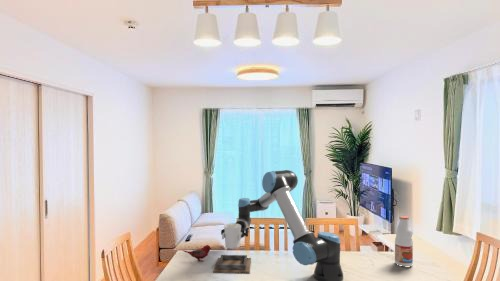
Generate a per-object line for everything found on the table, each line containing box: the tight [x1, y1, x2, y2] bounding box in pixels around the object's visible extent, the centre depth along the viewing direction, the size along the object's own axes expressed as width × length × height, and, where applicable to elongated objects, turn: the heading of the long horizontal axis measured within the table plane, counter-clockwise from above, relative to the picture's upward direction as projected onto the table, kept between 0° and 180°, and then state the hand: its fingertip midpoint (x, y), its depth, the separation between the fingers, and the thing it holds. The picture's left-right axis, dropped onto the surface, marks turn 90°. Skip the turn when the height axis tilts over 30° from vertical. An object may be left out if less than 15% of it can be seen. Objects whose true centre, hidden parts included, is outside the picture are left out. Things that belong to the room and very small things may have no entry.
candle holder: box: [223, 222, 241, 250], centre depth 190 cm, size 10×10×12 cm
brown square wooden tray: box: [212, 254, 252, 274], centre depth 190 cm, size 20×20×4 cm
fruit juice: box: [394, 215, 414, 266], centre depth 192 cm, size 9×9×28 cm
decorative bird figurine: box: [182, 244, 212, 263], centre depth 197 cm, size 3×18×10 cm, turn 83°
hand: (230, 237), depth 186 cm, fingers closed on candle holder, 9 cm apart
